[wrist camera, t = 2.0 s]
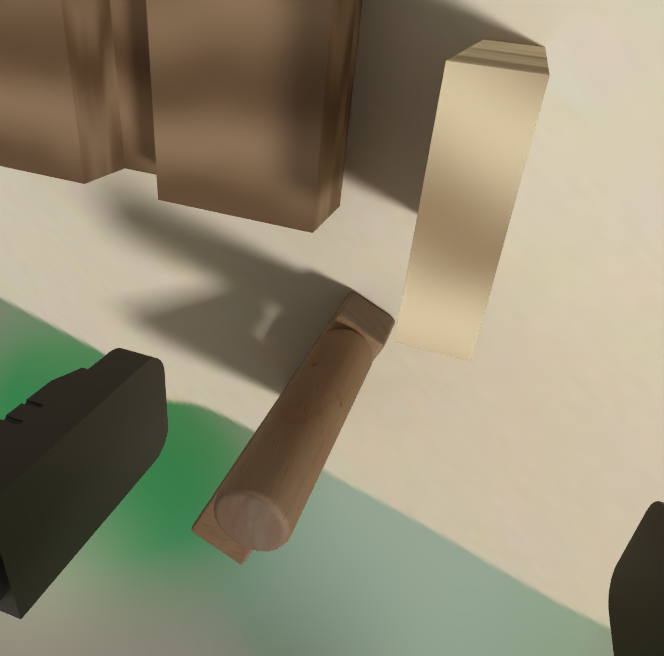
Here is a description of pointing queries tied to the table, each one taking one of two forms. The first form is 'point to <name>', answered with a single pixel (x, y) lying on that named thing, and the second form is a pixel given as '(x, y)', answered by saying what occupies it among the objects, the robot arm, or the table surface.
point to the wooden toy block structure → (295, 437)
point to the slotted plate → (185, 98)
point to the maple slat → (469, 192)
